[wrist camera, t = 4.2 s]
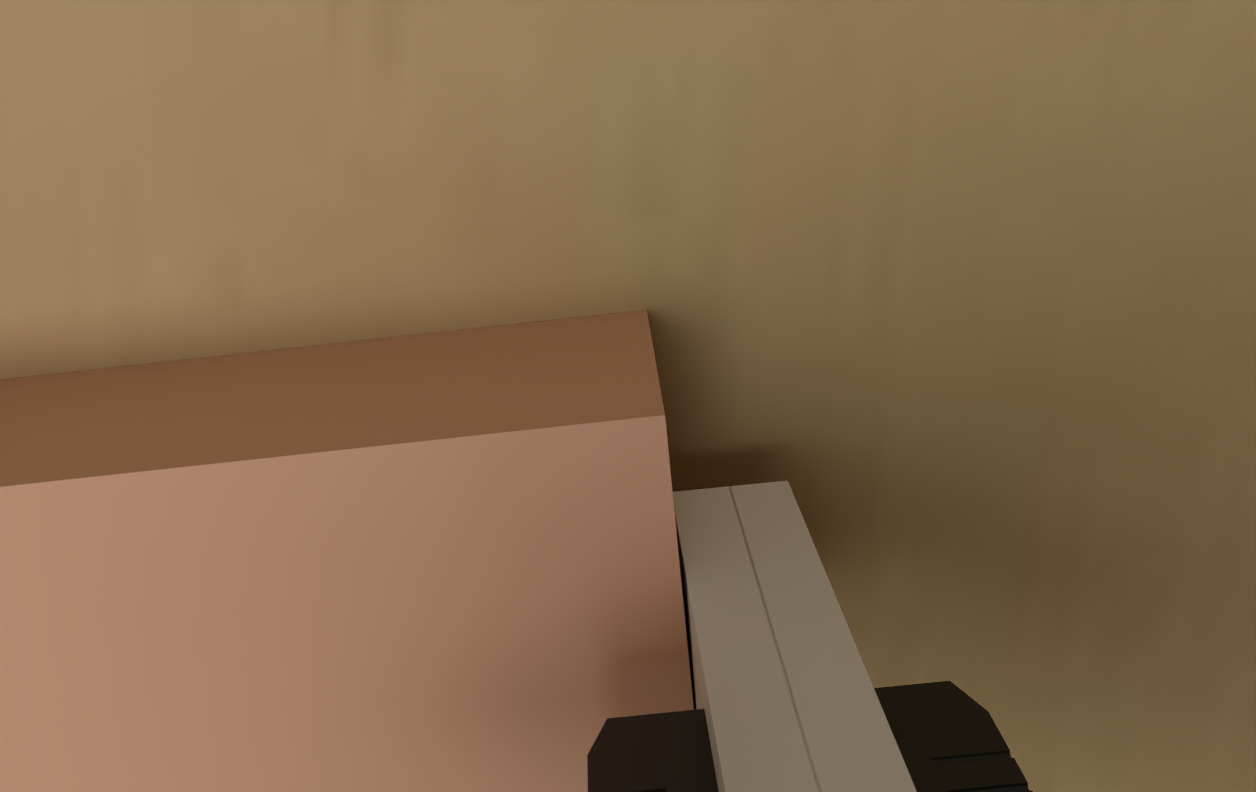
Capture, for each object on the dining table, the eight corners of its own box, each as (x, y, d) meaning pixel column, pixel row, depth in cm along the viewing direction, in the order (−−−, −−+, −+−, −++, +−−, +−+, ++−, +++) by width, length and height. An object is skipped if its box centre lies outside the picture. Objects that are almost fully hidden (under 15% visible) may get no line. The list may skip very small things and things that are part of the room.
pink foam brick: (645, 303, 14) (665, 414, 11) (687, 721, 17) (715, 928, 13) (-370, 413, 15) (-699, 562, 11) (-177, 812, 17) (-390, 1043, 13)
